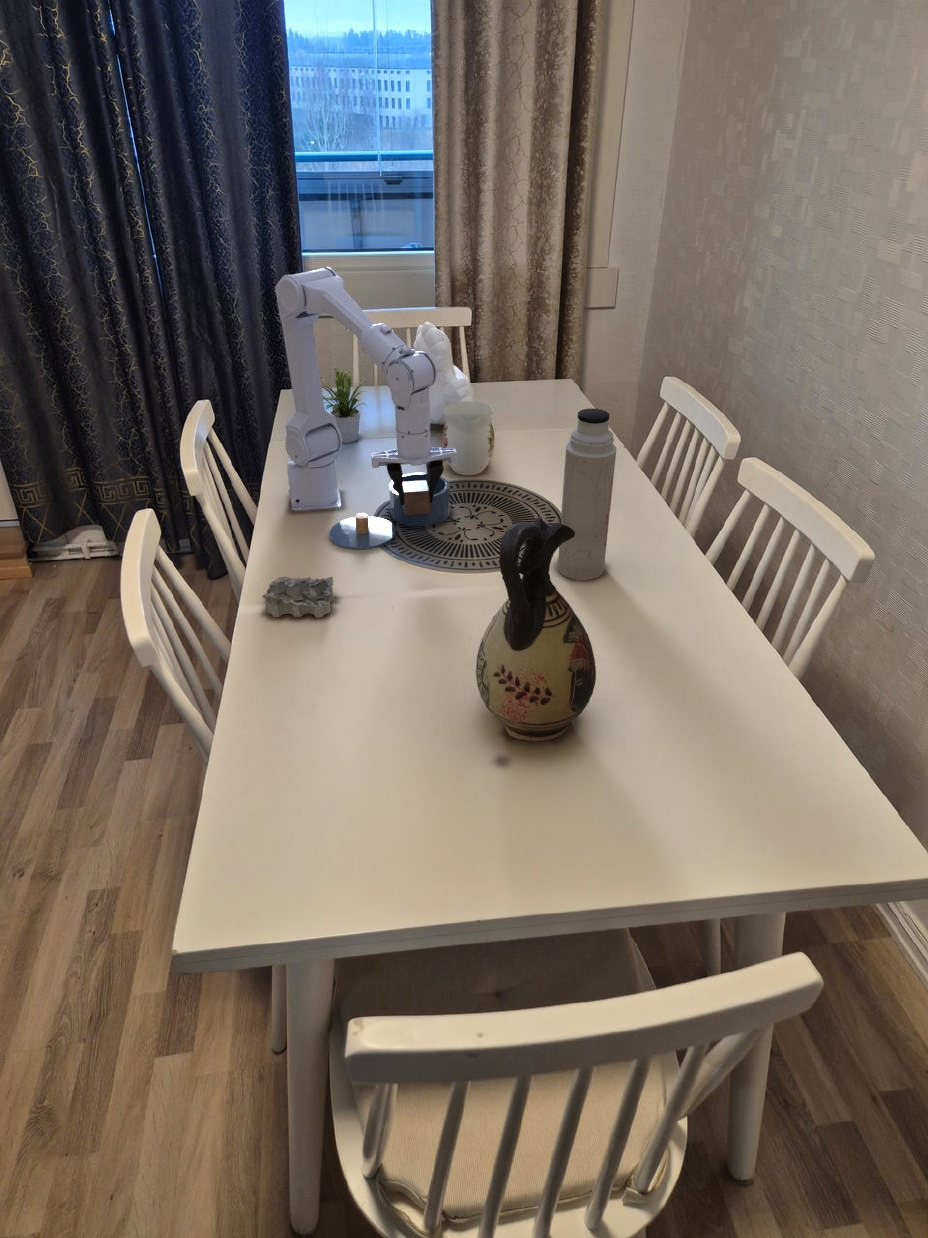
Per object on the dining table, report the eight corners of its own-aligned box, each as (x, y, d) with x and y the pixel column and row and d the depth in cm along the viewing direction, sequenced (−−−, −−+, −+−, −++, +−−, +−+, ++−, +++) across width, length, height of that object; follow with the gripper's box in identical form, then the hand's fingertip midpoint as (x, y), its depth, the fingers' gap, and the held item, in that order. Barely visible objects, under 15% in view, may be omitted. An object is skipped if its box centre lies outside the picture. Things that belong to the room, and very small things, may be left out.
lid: (331, 555, 150) (328, 533, 148) (328, 524, 160) (326, 503, 158) (399, 549, 152) (398, 528, 149) (392, 519, 162) (391, 498, 159)
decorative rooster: (397, 381, 209) (389, 317, 185) (457, 365, 211) (457, 299, 187) (426, 468, 202) (422, 413, 178) (489, 450, 204) (493, 393, 180)
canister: (393, 530, 158) (392, 500, 154) (388, 504, 167) (386, 474, 164) (453, 526, 159) (453, 495, 156) (445, 500, 169) (444, 470, 165)
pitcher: (490, 450, 190) (491, 390, 182) (496, 484, 175) (497, 420, 167) (442, 451, 190) (441, 391, 182) (443, 484, 175) (442, 421, 167)
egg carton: (262, 618, 134) (258, 596, 131) (274, 592, 140) (270, 571, 138) (329, 619, 133) (326, 598, 131) (337, 594, 139) (335, 573, 137)
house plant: (305, 431, 200) (297, 362, 191) (360, 422, 205) (355, 354, 196) (323, 452, 189) (315, 380, 180) (381, 442, 194) (377, 372, 185)
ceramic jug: (519, 669, 122) (528, 478, 105) (612, 713, 114) (637, 514, 97) (443, 730, 111) (440, 527, 95) (539, 783, 103) (554, 572, 86)
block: (405, 515, 148) (404, 492, 145) (402, 504, 151) (401, 481, 149) (429, 513, 148) (429, 490, 146) (426, 502, 152) (426, 480, 149)
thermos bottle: (605, 559, 149) (621, 405, 133) (602, 582, 142) (618, 423, 127) (560, 555, 150) (570, 402, 134) (555, 577, 144) (565, 419, 128)
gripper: (371, 439, 137) (376, 514, 145) (459, 434, 139) (459, 508, 147) (368, 423, 143) (373, 496, 151) (453, 419, 145) (453, 491, 152)
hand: (415, 501), depth 149 cm, fingers closed on block, 4 cm apart
